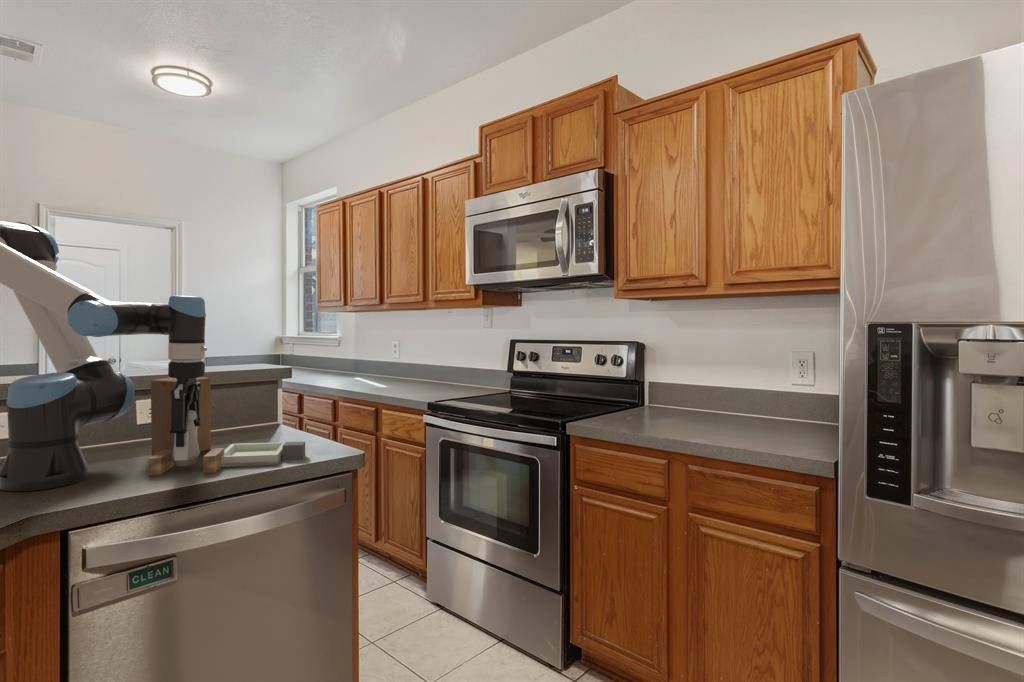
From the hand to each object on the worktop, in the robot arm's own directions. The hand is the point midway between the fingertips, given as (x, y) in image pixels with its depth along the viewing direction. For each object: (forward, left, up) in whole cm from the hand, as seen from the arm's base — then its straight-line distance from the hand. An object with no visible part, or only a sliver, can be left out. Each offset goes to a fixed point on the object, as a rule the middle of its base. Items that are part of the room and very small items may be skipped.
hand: (185, 456), depth 133 cm
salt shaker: (0, 0, -2) cm, 2 cm away
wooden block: (-7, +18, -3) cm, 19 cm away
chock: (+23, +7, -3) cm, 25 cm away
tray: (+13, +8, -3) cm, 16 cm away
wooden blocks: (0, 0, -3) cm, 3 cm away
